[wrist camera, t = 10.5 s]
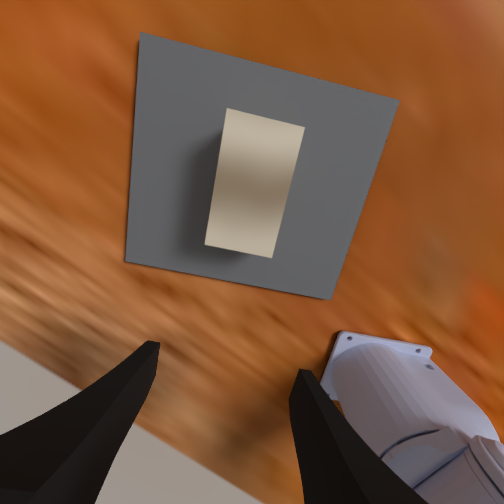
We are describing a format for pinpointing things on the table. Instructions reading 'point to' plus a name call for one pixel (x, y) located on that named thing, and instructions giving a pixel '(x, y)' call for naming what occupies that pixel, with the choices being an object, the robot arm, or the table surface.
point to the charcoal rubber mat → (207, 154)
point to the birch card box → (252, 182)
